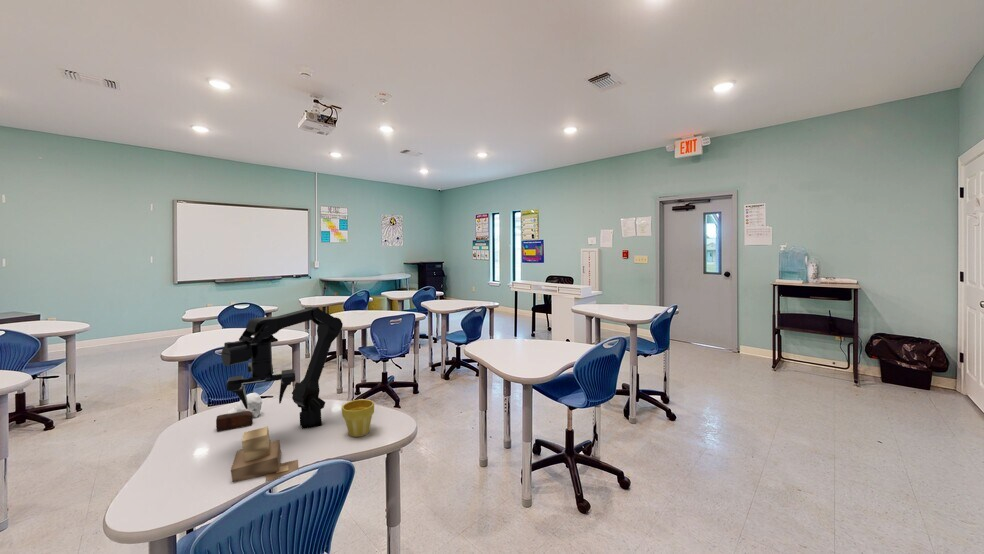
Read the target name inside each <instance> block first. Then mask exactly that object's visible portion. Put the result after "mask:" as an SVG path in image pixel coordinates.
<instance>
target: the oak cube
mask: <svg viewBox="0 0 984 554" xmlns="http://www.w3.org/2000/svg"><path fill="white" fill-rule="evenodd" d="M270 442H271V439H270V431H269V426H263V427H259V428H257V429H251V430H248V431H244V432H243V435H242V439H241V444H242V450H243V451H244V457H245V462H247V461H251V460H254V459H257V458H261V457H264V456H268V455H270V450H271V443H270Z"/></svg>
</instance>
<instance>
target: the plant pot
mask: <svg viewBox="0 0 984 554" xmlns="http://www.w3.org/2000/svg"><path fill="white" fill-rule="evenodd" d="M374 413H375V402H374V401H373V400H371V399H361V398H360V399H354V400H350V401H348V402H345V403H343V404H342V406H341V416H342V418H343V419H344V420H345V421H344V422H345V425H346V428H347V432H348V435H349V436H350V437H355V438H357V437H358V436H359V437H362V436H363V437H364V436H366V435H368V433H370V428H371V424H372V423H371V422H372V418H373V415H374ZM365 434H366V435H365Z"/></svg>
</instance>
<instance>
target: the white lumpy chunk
mask: <svg viewBox="0 0 984 554" xmlns="http://www.w3.org/2000/svg"><path fill="white" fill-rule="evenodd" d="M246 397H247V402H248V409H246V408H245V406H244V404H243V402H242V401H241V399H239V402H238V403H236V405H235V406H234V407H233V408H231V409H229V410H228V411H227V412H226V413H225V414H231V413H237V412H243V411H250V412H252V417H253V418H254V419H255V418H257V417H258V416H259V415H260V413H261V411H262V404H263V401H262V398H261V395H260V394H259V393H257V392H251V393H248V394H246Z"/></svg>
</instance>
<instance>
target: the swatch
mask: <svg viewBox="0 0 984 554" xmlns="http://www.w3.org/2000/svg"><path fill="white" fill-rule="evenodd" d="M296 469H298V470H299V459H295V460H291V461H285V462H282V463H281V462H280V468H279V471H276V472H273V473H269V474H266V475H265V482H271V481H274V479H275V480H277V479H276V478H278V477H281V476H283V475H285V474H288V473H289V472H292V471H294V470H296Z"/></svg>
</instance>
